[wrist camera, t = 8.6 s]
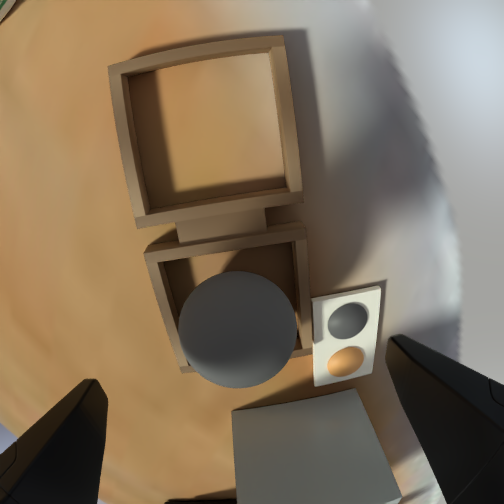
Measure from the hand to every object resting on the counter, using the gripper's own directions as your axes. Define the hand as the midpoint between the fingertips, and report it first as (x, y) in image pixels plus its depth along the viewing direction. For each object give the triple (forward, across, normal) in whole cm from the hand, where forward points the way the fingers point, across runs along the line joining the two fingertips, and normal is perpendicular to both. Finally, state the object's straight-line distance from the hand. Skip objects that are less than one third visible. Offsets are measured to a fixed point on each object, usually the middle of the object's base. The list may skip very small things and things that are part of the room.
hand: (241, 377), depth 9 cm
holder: (+4, 0, -3) cm, 5 cm away
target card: (+4, -4, +3) cm, 7 cm away
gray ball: (+4, 0, 0) cm, 4 cm away
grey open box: (+4, -2, +10) cm, 11 cm away
